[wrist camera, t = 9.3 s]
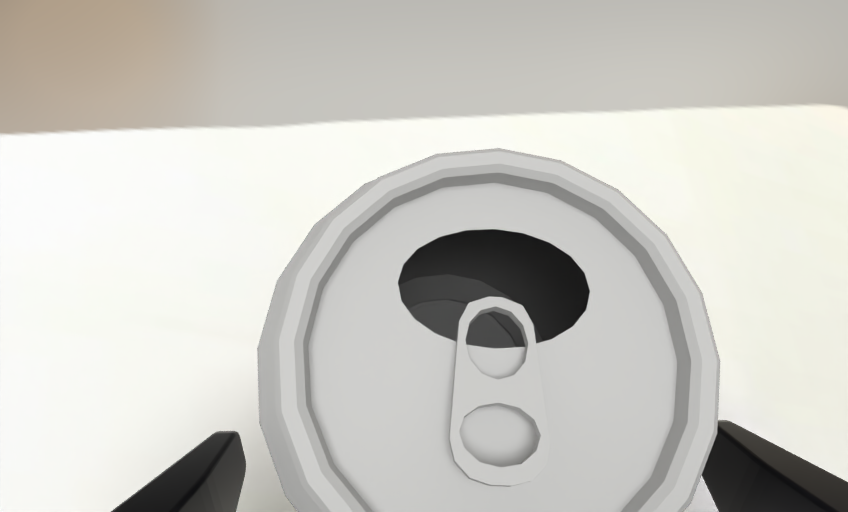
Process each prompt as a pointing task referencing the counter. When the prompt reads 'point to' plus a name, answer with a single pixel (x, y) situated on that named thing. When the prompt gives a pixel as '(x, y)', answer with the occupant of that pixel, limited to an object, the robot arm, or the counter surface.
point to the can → (488, 348)
